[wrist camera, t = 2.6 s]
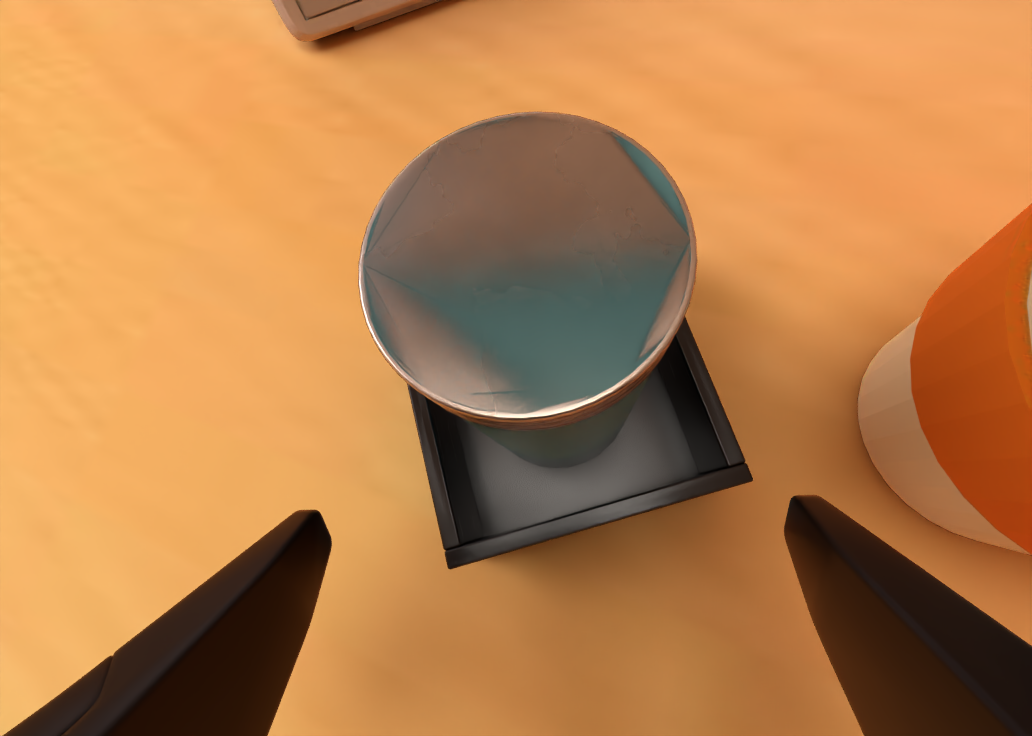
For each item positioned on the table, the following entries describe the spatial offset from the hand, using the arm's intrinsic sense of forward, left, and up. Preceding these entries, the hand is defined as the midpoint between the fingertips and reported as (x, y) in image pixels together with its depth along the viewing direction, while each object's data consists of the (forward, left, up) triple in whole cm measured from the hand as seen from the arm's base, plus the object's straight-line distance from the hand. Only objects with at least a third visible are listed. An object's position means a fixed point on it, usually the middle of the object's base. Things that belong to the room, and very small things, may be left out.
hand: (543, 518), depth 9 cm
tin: (+5, -1, -11) cm, 12 cm away
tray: (+5, -1, -11) cm, 12 cm away
